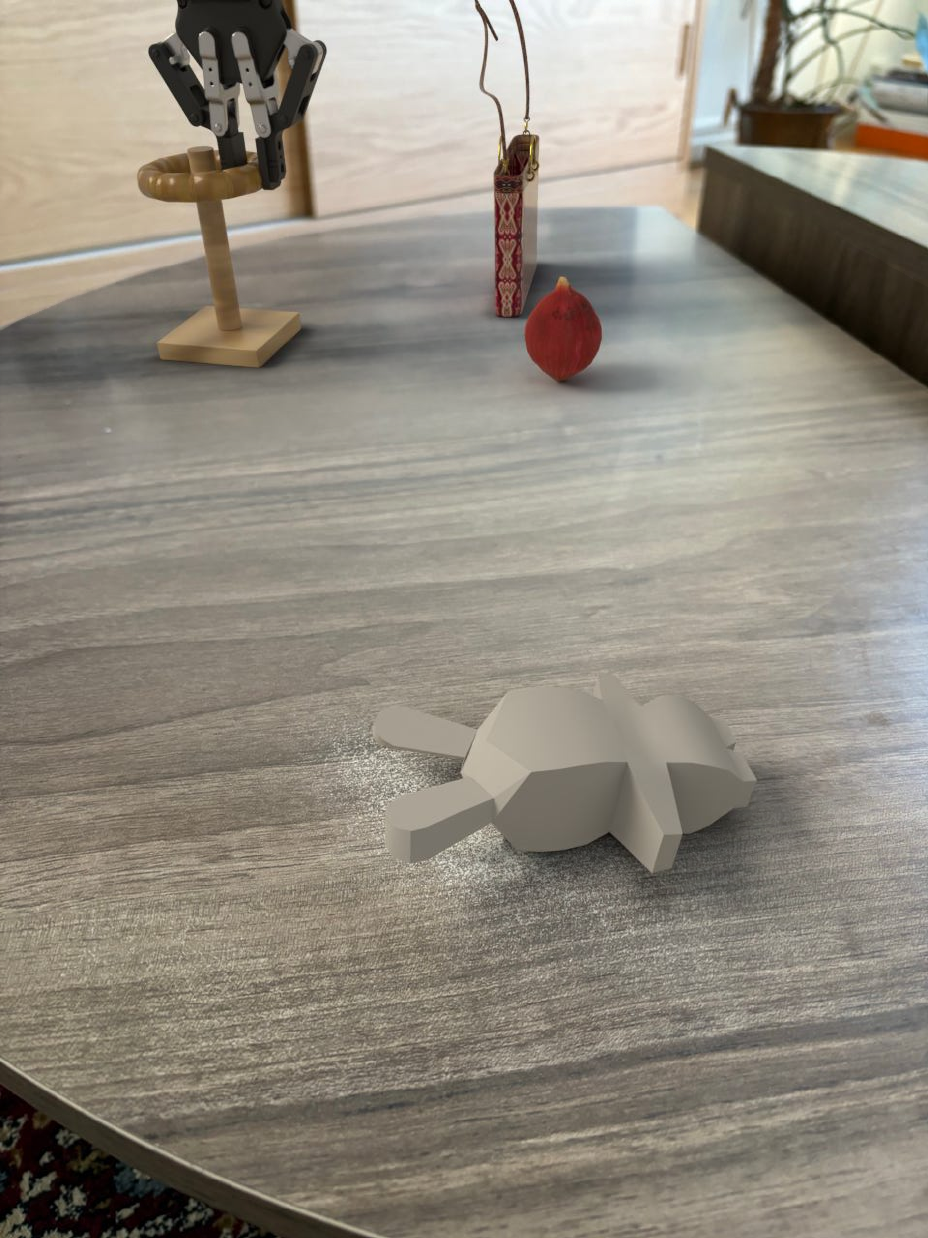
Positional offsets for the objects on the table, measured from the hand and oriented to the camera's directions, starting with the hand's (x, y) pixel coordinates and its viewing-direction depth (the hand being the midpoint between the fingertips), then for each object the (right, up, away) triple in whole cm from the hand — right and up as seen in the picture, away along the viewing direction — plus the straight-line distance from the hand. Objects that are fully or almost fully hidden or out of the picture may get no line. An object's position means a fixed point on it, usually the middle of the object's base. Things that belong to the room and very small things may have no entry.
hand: (255, 186), depth 77 cm
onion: (+24, -15, +1) cm, 28 cm away
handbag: (+20, -1, +20) cm, 28 cm away
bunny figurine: (+20, -42, -35) cm, 58 cm away
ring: (-4, +1, +1) cm, 4 cm away
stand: (-4, -10, +9) cm, 14 cm away
